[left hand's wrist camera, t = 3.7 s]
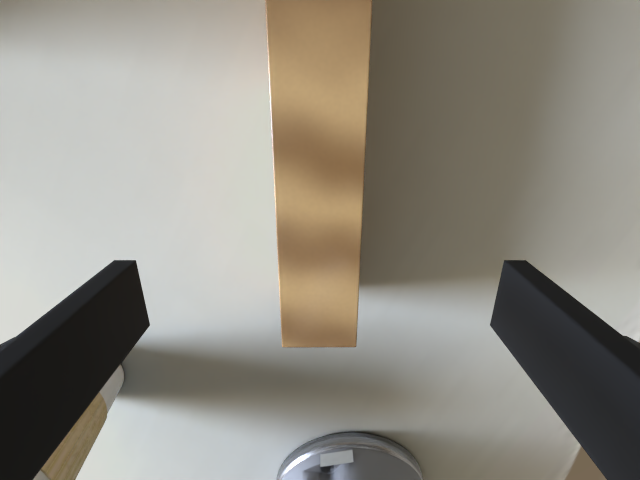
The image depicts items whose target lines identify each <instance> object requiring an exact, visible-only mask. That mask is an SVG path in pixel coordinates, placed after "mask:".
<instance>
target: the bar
mask: <svg viewBox="0 0 640 480" xmlns="http://www.w3.org/2000/svg"><path fill="white" fill-rule="evenodd" d="M265 6H266V26H267V47H268V67H269V88H270V108H271V128H272V149H273V169H274V190H275V210H276V230H277V251H278V271H279V292H280V312H281V332H282V347H356V340H357V319H358V298H359V277H360V255H361V234H362V213H363V192H364V170H365V149H366V128H367V107H368V85H369V64H370V43H371V21H372V0H265Z"/></svg>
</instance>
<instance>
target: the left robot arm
mask: <svg viewBox="0 0 640 480" xmlns="http://www.w3.org/2000/svg"><path fill="white" fill-rule="evenodd" d="M149 326H150V323H149V319H148V314H147V310H146V305H145V300H144V296H143V291H142V287H141V282H140V277H139V273H138V268H137V264H136V260H114V261H113V262H112V263H110V264H109V265H108V266H106V267H105V268H104V269H103V270H101V271H100V272H99V273H97V274H96V275H95V276H94V277H92V278H91V279H90V280H88V281H87V282H86V283H85V284H83V285H82V286H81V287H79V288H78V289H77V290H76V291H74V292H73V293H72V294H70V295H69V296H68V297H67V298H65V299H64V300H63V301H61V302H60V303H59V304H58V305H56V306H55V307H54V308H52V309H51V310H50V311H49V312H47V313H46V314H45V315H43V316H42V317H41V318H40V319H38V320H37V321H36V322H34V323H33V324H32V325H31V326H29V327H28V328H27V329H25V330H24V331H23V332H22V333H20V334H19V335H18V336H16V337H14V338H12V339H10V340H8V341H6V342H4V343H2V344H1V345H0V480H33V479H34V478H35V476H36V475H37V474H38V472H39V471H40V470H41V468H42V467H43V466H44V464H45V463H46V462H47V460H48V459H49V458H50V456H51V455H52V454H53V452H54V451H55V450H56V449H57V447H58V446H59V445H60V443H61V442H62V441H63V439H64V438H65V437H66V435H67V434H68V433H69V431H70V430H71V429H72V427H73V426H74V425H75V423H76V422H77V421H78V419H79V418H80V417H81V416H82V414H83V413H84V412H85V410H86V409H87V408H88V406H89V405H90V404H91V402H92V401H93V400H94V398H95V397H96V396H97V394H98V393H99V392H100V390H101V389H102V388H103V386H104V385H105V384H106V382H107V381H108V380H109V379H110V377H111V376H112V375H113V373H114V372H115V371H116V369H117V368H118V367H119V365H120V364H121V363H122V361H123V360H124V359H125V357H126V356H127V355H128V353H129V352H130V351H131V349H132V348H133V347H134V345H135V344H136V343H137V342H138V340H139V339H140V338H141V336H142V335H143V334H144V332H145V331H146V330H147V328H148V327H149ZM490 326H491V327H492V328H493V330H494V331H495V332H496V334H497V335H498V336H499V338H500V339H501V340H502V342H503V343H504V344H505V345H506V347H507V348H508V349H509V351H510V352H511V353H512V355H513V356H514V357H515V359H516V360H517V361H518V363H519V364H520V365H521V367H522V368H523V369H524V371H525V372H526V373H527V375H528V376H529V377H530V379H531V380H532V381H533V382H534V384H535V385H536V386H537V388H538V389H539V390H540V392H541V393H542V394H543V396H544V397H545V398H546V400H547V401H548V402H549V404H550V405H551V406H552V408H553V409H554V410H555V412H556V413H557V414H558V416H559V417H560V418H561V419H562V421H563V422H564V423H565V425H566V426H567V427H568V429H569V430H570V431H571V433H572V434H573V435H574V437H575V438H576V439H577V441H578V442H579V443H580V445H581V446H582V447H583V449H584V450H585V451H586V452H587V454H588V455H589V456H590V458H591V459H592V460H593V462H594V463H595V464H596V466H597V467H598V468H599V470H600V471H601V472H602V474H603V475H604V476H605V478H606V479H607V480H640V343H639V342H637V341H635V340H633V339H631V338H629V337H627V336H622V335H621V334H620V333H618V332H617V331H616V330H615V329H613V328H612V327H611V326H609V325H608V324H607V323H606V322H604V321H603V320H602V319H600V318H599V317H598V316H597V315H595V314H594V313H593V312H591V311H590V310H589V309H588V308H586V307H585V306H584V305H582V304H581V303H580V302H579V301H577V300H576V299H575V298H573V297H572V296H571V295H570V294H568V293H567V292H566V291H564V290H563V289H562V288H561V287H559V286H558V285H557V284H555V283H554V282H553V281H552V280H550V279H549V278H548V277H546V276H545V275H544V274H543V273H541V272H540V271H539V270H537V269H536V268H535V267H534V266H532V265H531V264H530V263H528V262H527V261H526V260H504V264H503V268H502V273H501V277H500V282H499V287H498V291H497V296H496V300H495V305H494V310H493V314H492V319H491V323H490ZM277 480H423V477H422V473H421V470H420V467H419V465H418V463H417V461H416V460H415V458H414V457H413V456H412V455H411V454H410V453H409V452H408V451H407V450H406V449H405V448H403V447H402V446H400V445H399V444H397V443H395V442H393V441H391V440H389V439H386V438H383V437H380V436H376V435H372V434H365V433H338V434H332V435H327V436H323V437H320V438H317V439H314V440H312V441H310V442H308V443H306V444H304V445H302V446H300V447H299V448H297V449H296V450H295V451H293V452H292V453H291V454H290V455H289V456H288V457H287V458H286V460H285V461H284V462H283V464H282V465H281V467H280V469H279V472H278V476H277Z"/></svg>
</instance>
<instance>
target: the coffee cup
mask: <svg viewBox="0 0 640 480" xmlns="http://www.w3.org/2000/svg"><path fill="white" fill-rule="evenodd" d="M123 382H124V371H123V369H122V366H121V365H119V367H118V368H117V369H116V371H115V372H114V373H113V375H112V376H111V377H110V379H109V380H108V381H107V382H106V384H105V385H104V386H103V388H102V389H101V390H100V392H99V393H98V394H97V396H96V397H95V398H94V400H93V401H92V402H91V404H90V405H89V406H88V408H87V409H86V410H85V412H84V413H83V414H82V416H81V417H80V418H79V419H78V421H77V422H76V423H75V425H74V426H73V427H72V429H71V430H70V431H69V433H68V434H67V435H66V437H65V438H64V439H63V441H62V442H61V443H60V445H59V446H58V447H57V449H56V450H55V451H54V452H53V454H52V455H51V456H50V458H49V459H48V460H47V462H46V463H45V464H44V466H43V467H42V468H41V470H40V471H39V472H38V474H37V475H36V476H35V478H34V479H33V480H75V479H76V477H77V475H78V473H79V471H80V469H81V467H82V465H83V463H84V461H85V459H86V458H87V456H88V454H89V452H90V450H91V448H92V446H93V444H94V442H95V440H96V438H97V436H98V434H99V432H100V430H101V428H102V427H103V425H104V423H105V420H106V418H107V413H108V411H109V409H110V407H111V406H112V404H113V402H114V400H115V398H116V396H117V394H118V392H119V390H120V389H121V387H122V384H123Z"/></svg>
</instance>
